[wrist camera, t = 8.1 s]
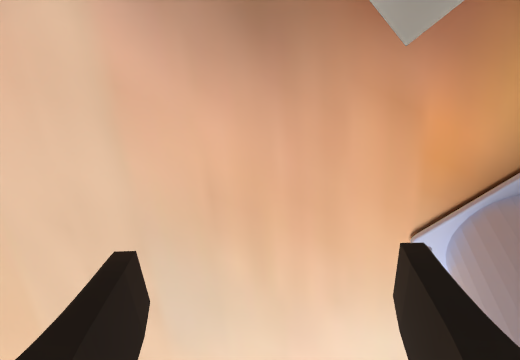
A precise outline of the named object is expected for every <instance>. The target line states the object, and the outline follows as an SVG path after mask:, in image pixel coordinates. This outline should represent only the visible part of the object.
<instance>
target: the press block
mask: <svg viewBox="0 0 520 360" xmlns="http://www.w3.org/2000/svg"><path fill="white" fill-rule="evenodd" d="M463 1H464V0H370V2H371V3H372V4H373V5H374V7H375V8H376V9H377V10H378V12H379V13H380V14H381V16H382V17H383V18H384V19H385V21H386V22H387V23H388V24H389V26H390V27H391V28H392V29H393V31H394V32H395V33H396V34H397V36H398V37H399V38H400V40H401V41H402V42H403V43H404V45H405V46H407V45H408V44H409V43H411V42H412V41H413V40H415V39H416V38H417V37H418V36H420V35H421V34H422V33H423V32H425V31H426V30H427V29H429V28H430V27H431V26H432V25H434V24H435V23H436V22H437V21H439V20H440V19H441V18H443V17H444V16H445V15H446V14H448V13H449V12H450V11H451V10H453V9H454V8H455V7H457V6H458V5H459V4H460V3H462V2H463Z"/></svg>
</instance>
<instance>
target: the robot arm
mask: <svg viewBox="0 0 520 360" xmlns="http://www.w3.org/2000/svg"><path fill="white" fill-rule="evenodd" d="M428 246H429V247H428ZM393 298H394V304H395V309H396V315H397V320H398V325H399V330H400V334H401V337H402V340H403V344H404V347H405V350H406V353H407V357H408V360H520V173H518V174H517V175H515V176H513V177H512V178H510V179H508V180H507V181H505V182H503V183H502V184H500V185H498V186H497V187H495V188H493V189H491V190H490V191H488V192H486V193H485V194H483V195H481V196H480V197H478V198H476V199H475V200H473V201H471V202H470V203H468V204H466V205H464V206H463V207H461V208H459V209H458V210H456V211H454V212H453V213H451V214H449V215H448V216H446V217H444V218H443V219H441V220H439V221H437V222H436V223H434V224H432V225H431V226H429V227H427V228H426V229H424V230H422V231H421V232H419V233H417V234H416V235H414V236H413V237H412V238H411V243H400V249H399V256H398V264H397V271H396V278H395V285H394V293H393ZM149 306H150V299H149V296H148V292H147V289H146V285H145V282H144V278H143V275H142V271H141V267H140V264H139V260H138V257H137V253H136V251H124V252H114V253H113V254H112V255H111V256H110V257H109V258H108V259H107V261H106V262H105V263H104V264H103V265H102V267H101V268H100V269H99V270H98V272H97V273H96V274H95V275H94V276H93V278H92V279H91V280H90V281H89V282H88V284H87V285H86V286H85V287H84V288H83V289H82V291H81V292H80V293H79V294H78V295H77V296H76V298H75V299H74V300H73V301H72V302H71V303H70V304H69V305H68V307H67V308H66V309H65V310H64V311H63V312H62V313H61V314H60V316H59V317H58V318H57V319H56V320H55V321H54V322H53V323H52V324H51V325H50V326H49V327H48V328H47V329H46V330H45V331H44V332H43V333H42V334H41V335H40V336H39V338H38V339H37V340H35V341H34V342H33V343H32V344H31V345H30V346H29V347H28V348H27V349H26V350H25V351H24V352H23V353H22V354H21V355H20V356H19V357H18V358H17V359H15V360H138V357H139V354H140V350H141V347H142V343H143V340H144V336H145V330H146V325H147V319H148V312H149Z"/></svg>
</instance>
